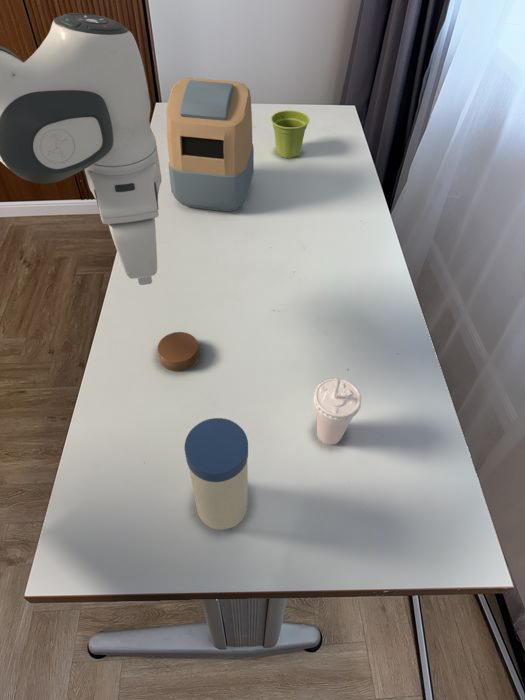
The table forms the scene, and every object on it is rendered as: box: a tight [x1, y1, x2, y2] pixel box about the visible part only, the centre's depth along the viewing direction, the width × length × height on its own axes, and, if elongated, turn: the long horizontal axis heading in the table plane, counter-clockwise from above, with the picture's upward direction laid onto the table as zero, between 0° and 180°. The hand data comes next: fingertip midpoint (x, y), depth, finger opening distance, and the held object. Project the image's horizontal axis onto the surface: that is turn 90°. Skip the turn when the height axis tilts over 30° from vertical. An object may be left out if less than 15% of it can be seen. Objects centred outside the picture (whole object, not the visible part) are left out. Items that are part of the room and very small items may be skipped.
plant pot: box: [270, 109, 310, 159], centre depth 125 cm, size 9×9×9 cm
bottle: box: [183, 417, 249, 531], centre depth 61 cm, size 7×7×16 cm
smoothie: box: [313, 376, 362, 446], centre depth 70 cm, size 6×6×14 cm
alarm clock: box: [165, 77, 255, 212], centre depth 107 cm, size 17×17×23 cm
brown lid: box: [157, 331, 200, 372], centre depth 83 cm, size 7×7×2 cm
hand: (142, 259), depth 71 cm, fingers open, 8 cm apart
